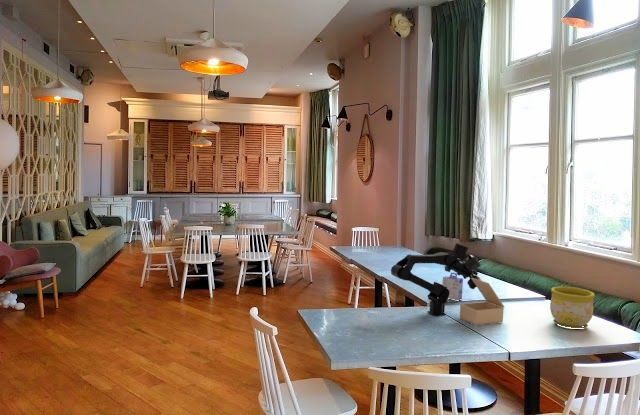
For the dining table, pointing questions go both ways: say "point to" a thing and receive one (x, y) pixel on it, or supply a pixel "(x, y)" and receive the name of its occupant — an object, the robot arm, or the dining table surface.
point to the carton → (481, 313)
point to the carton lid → (487, 292)
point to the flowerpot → (571, 306)
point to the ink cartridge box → (453, 286)
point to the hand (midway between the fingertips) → (480, 279)
